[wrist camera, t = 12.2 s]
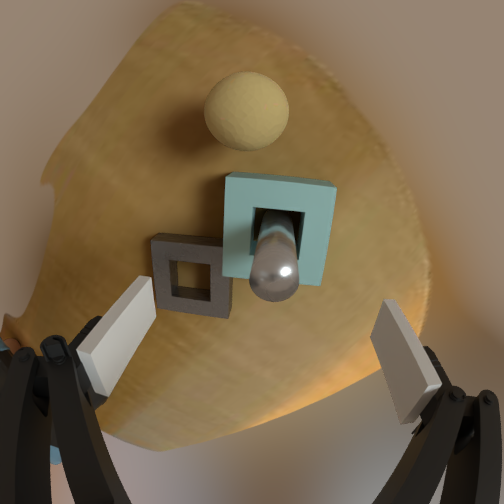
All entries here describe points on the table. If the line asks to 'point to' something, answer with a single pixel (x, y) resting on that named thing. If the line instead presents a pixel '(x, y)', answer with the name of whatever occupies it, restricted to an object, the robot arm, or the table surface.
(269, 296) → the pin
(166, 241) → the mount
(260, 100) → the light bulb
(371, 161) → the table surface
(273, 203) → the socket
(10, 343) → the egg
